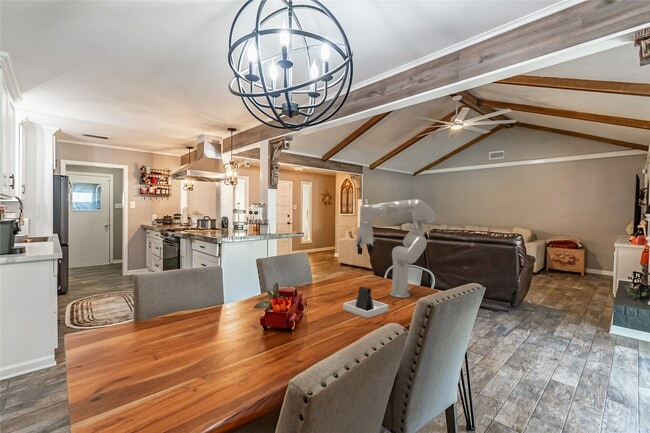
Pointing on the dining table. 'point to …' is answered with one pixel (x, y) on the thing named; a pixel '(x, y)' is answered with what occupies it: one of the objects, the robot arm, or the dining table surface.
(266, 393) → the dining table surface
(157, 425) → the dining table surface
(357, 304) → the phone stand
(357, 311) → the tray
